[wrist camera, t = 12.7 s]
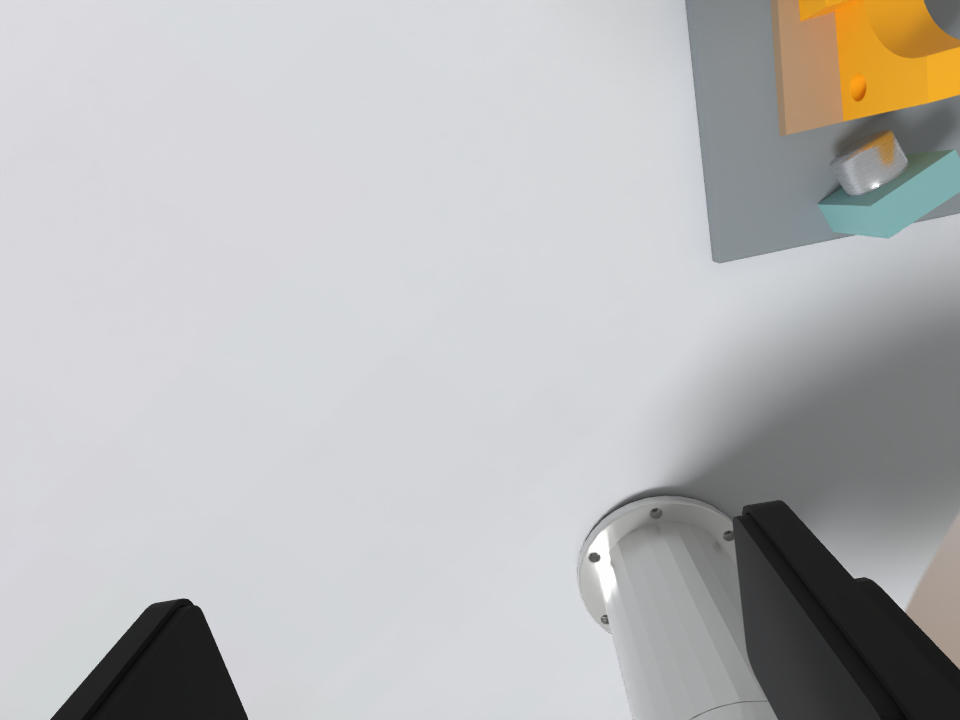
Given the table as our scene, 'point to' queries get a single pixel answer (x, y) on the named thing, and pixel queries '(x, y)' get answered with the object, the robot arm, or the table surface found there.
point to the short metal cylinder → (870, 164)
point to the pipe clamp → (889, 54)
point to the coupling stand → (803, 132)
